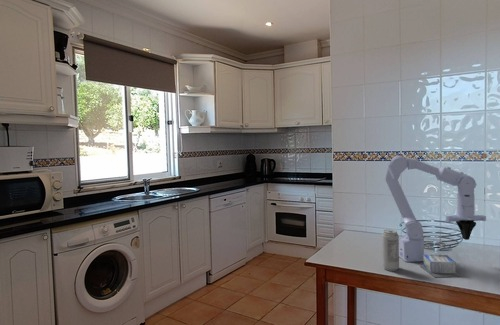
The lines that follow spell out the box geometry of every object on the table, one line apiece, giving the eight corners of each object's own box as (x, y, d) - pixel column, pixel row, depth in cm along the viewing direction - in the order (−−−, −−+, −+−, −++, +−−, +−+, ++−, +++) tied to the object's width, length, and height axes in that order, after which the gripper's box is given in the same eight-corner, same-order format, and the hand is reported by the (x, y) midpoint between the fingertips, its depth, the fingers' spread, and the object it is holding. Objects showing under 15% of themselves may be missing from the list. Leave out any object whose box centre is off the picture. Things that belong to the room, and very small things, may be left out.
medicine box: (455, 262, 119) (430, 261, 121) (455, 274, 119) (430, 272, 121) (447, 254, 127) (423, 254, 128) (447, 266, 127) (423, 265, 129)
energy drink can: (394, 265, 130) (394, 228, 130) (402, 271, 124) (401, 232, 124) (379, 266, 130) (379, 229, 129) (386, 272, 124) (386, 233, 123)
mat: (434, 277, 118) (434, 276, 118) (419, 266, 129) (419, 265, 128) (459, 276, 117) (459, 276, 117) (442, 265, 128) (442, 264, 128)
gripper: (453, 207, 124) (453, 242, 125) (491, 206, 124) (491, 241, 125) (442, 204, 131) (442, 237, 132) (479, 203, 131) (479, 236, 132)
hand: (465, 238), depth 129 cm, fingers closed
